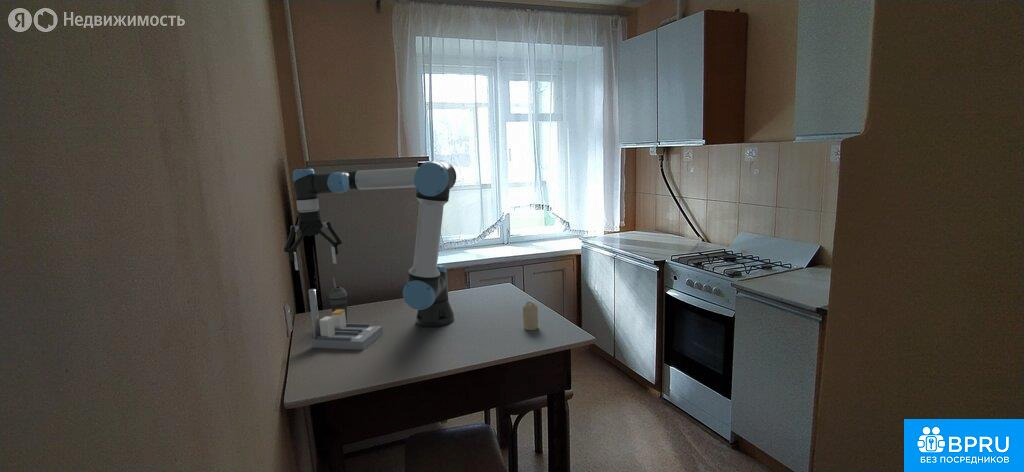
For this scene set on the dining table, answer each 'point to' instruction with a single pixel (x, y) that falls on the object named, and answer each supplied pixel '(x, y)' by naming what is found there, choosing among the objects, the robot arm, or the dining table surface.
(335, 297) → the beverage cup
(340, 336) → the panel
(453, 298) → the dining table surface
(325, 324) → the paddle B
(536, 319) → the candle
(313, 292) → the post
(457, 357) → the dining table surface
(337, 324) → the grey orange block
